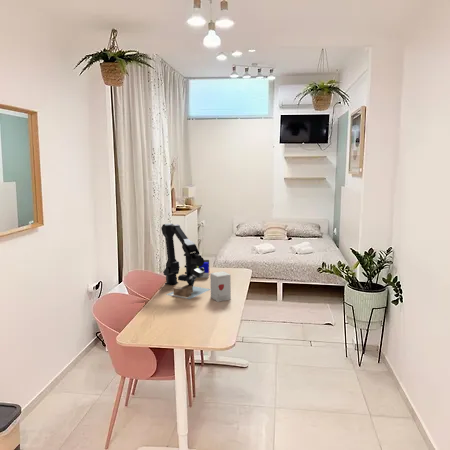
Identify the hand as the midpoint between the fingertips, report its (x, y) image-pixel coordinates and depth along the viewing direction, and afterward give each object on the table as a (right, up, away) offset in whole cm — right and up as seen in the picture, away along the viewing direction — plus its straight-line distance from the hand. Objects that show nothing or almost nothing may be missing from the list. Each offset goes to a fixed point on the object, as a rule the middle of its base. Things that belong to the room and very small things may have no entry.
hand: (191, 288), depth 267 cm
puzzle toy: (+5, +4, +35) cm, 36 cm away
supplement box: (+18, -4, -16) cm, 24 cm away
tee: (-3, -2, -5) cm, 7 cm away
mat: (-1, -2, -2) cm, 3 cm away
